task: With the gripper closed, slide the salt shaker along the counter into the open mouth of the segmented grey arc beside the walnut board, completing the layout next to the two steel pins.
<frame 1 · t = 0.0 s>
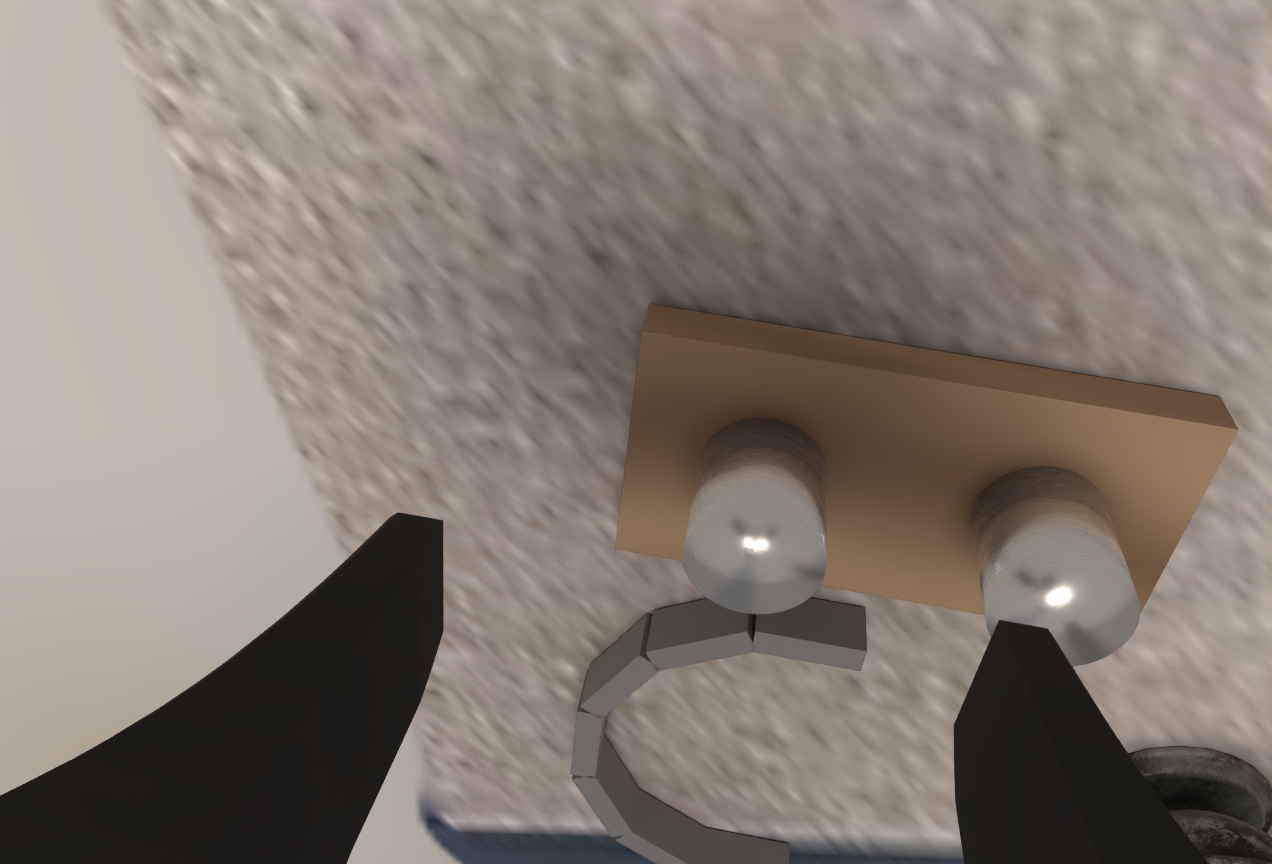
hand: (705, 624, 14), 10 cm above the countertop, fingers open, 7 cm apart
salt shaker: (1166, 803, 29), on the countertop
pin board: (895, 462, 24), on the countertop
segmented grey arc: (773, 736, 30), on the countertop
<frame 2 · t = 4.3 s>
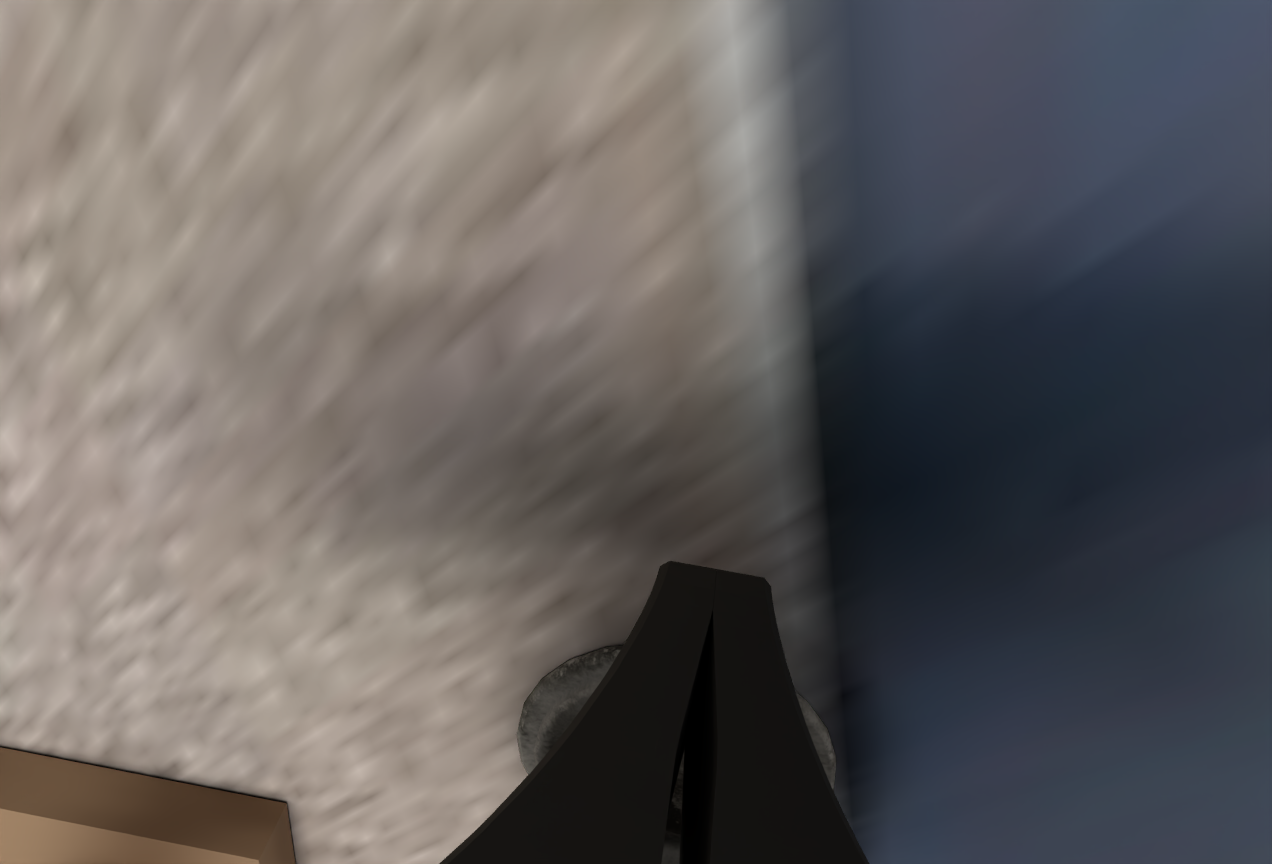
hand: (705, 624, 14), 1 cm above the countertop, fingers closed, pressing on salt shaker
salt shaker: (675, 746, 18), on the countertop, touching gripper
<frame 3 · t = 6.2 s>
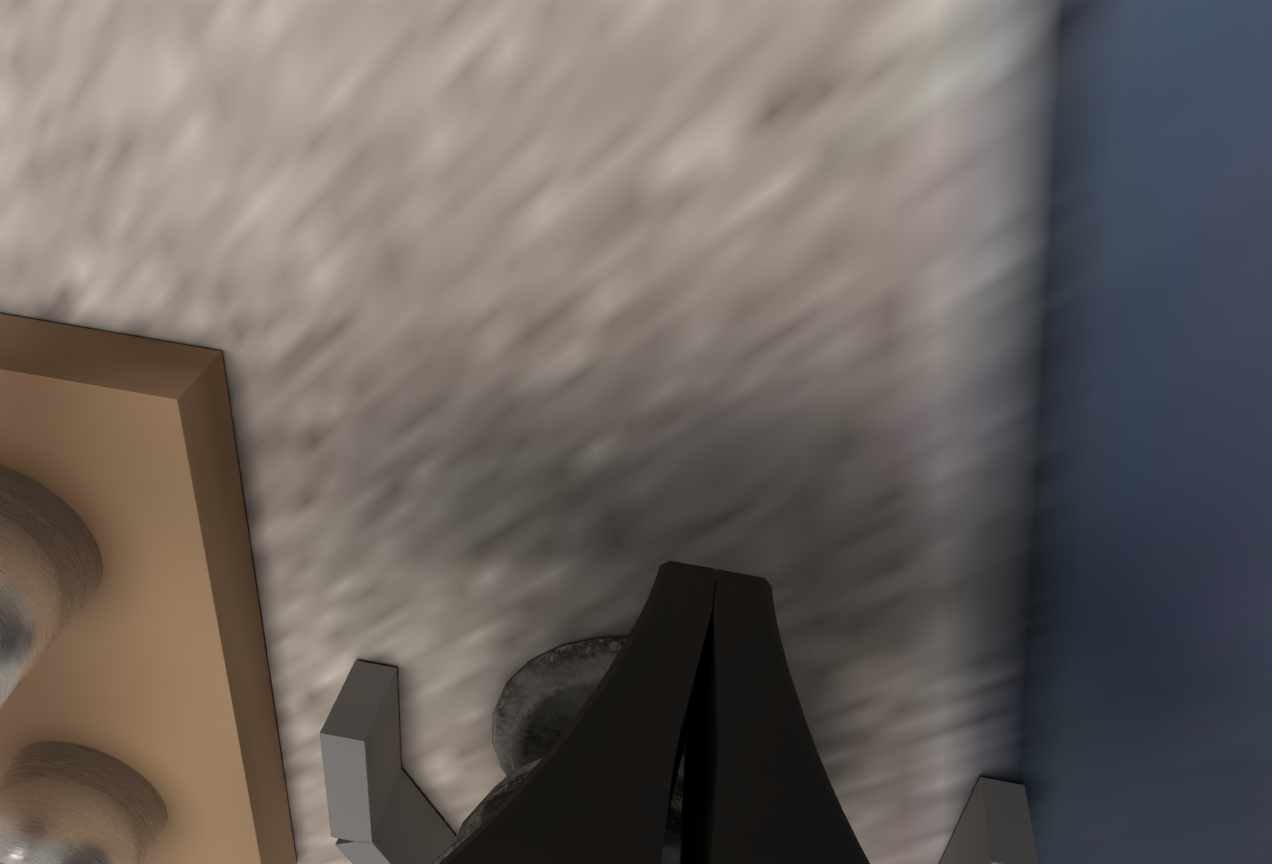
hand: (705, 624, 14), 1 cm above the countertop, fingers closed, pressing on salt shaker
salt shaker: (650, 741, 18), on the countertop, touching gripper
pin board: (95, 625, 18), on the countertop
segmented grey arc: (673, 773, 18), on the countertop
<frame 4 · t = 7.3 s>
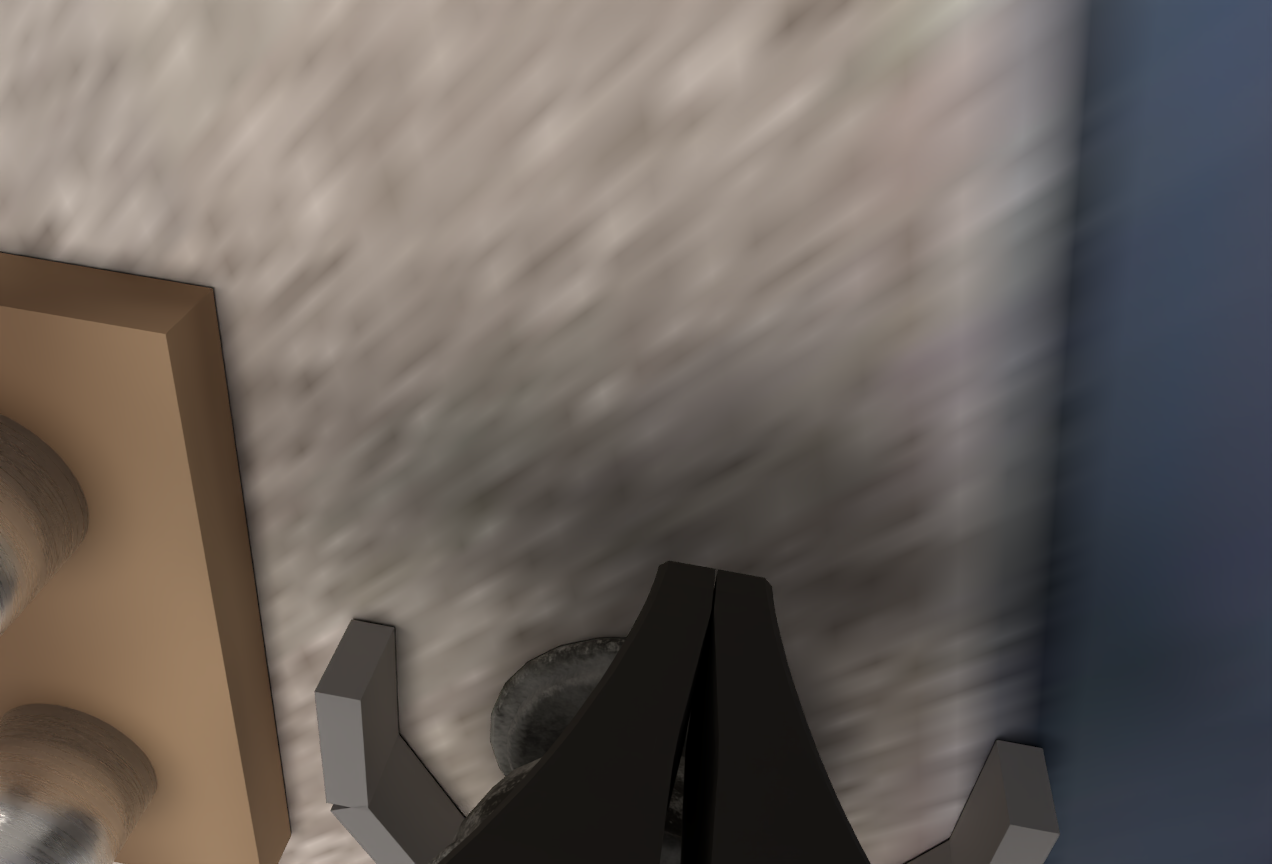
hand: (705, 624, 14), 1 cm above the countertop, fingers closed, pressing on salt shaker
salt shaker: (648, 741, 18), on the countertop, touching gripper
pin board: (82, 584, 17), on the countertop
segmented grey arc: (679, 738, 17), on the countertop
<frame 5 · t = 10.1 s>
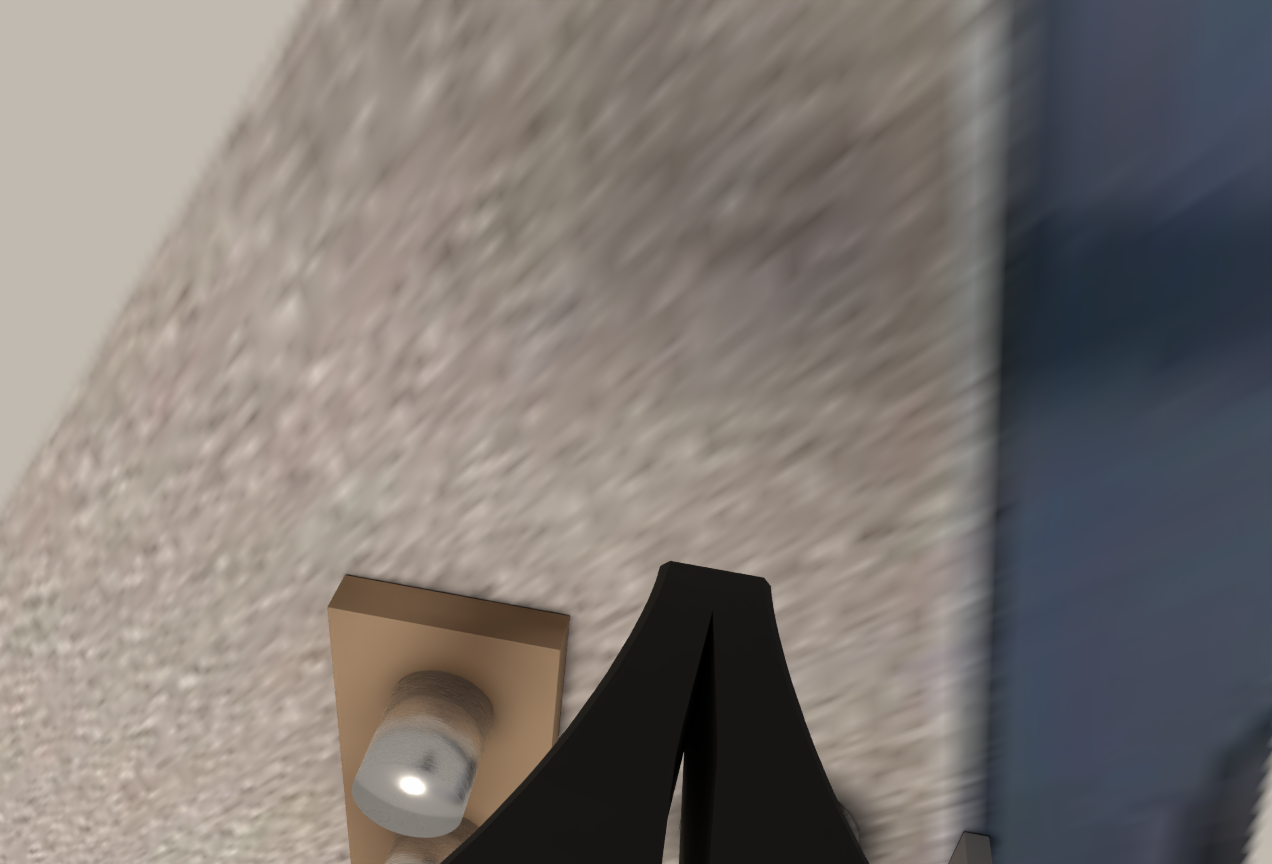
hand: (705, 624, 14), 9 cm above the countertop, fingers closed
pin board: (455, 742, 31), on the countertop
segmented grey arc: (788, 828, 31), on the countertop
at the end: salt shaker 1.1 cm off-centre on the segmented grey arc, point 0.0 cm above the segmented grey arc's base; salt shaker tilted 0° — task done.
